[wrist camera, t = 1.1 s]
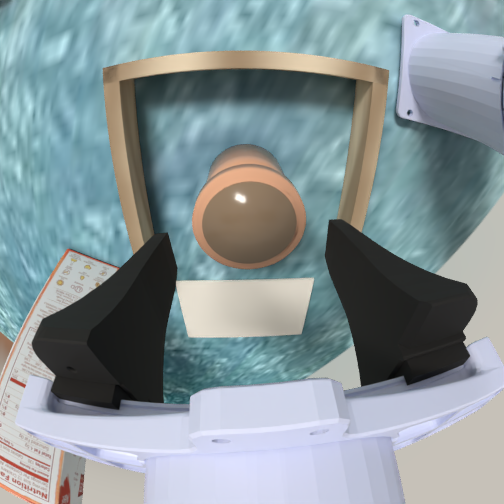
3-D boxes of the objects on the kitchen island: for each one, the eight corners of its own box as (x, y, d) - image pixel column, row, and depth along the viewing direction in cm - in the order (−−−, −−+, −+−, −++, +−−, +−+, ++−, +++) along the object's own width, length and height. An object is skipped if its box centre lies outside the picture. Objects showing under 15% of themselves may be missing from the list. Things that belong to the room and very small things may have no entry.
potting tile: (313, 277, 24) (314, 279, 24) (301, 332, 29) (301, 334, 29) (175, 280, 23) (175, 282, 23) (188, 335, 28) (188, 337, 28)
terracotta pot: (289, 140, 17) (312, 173, 12) (283, 214, 20) (299, 269, 15) (201, 140, 17) (186, 174, 12) (206, 216, 20) (197, 271, 15)
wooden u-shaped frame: (370, 69, 14) (389, 70, 12) (338, 263, 23) (346, 283, 21) (119, 67, 13) (102, 68, 11) (150, 267, 22) (143, 287, 20)
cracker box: (113, 346, 30) (83, 506, 13) (70, 329, 28) (28, 484, 11) (126, 267, 22) (63, 520, 6) (67, 244, 20) (-29, 471, 4)
